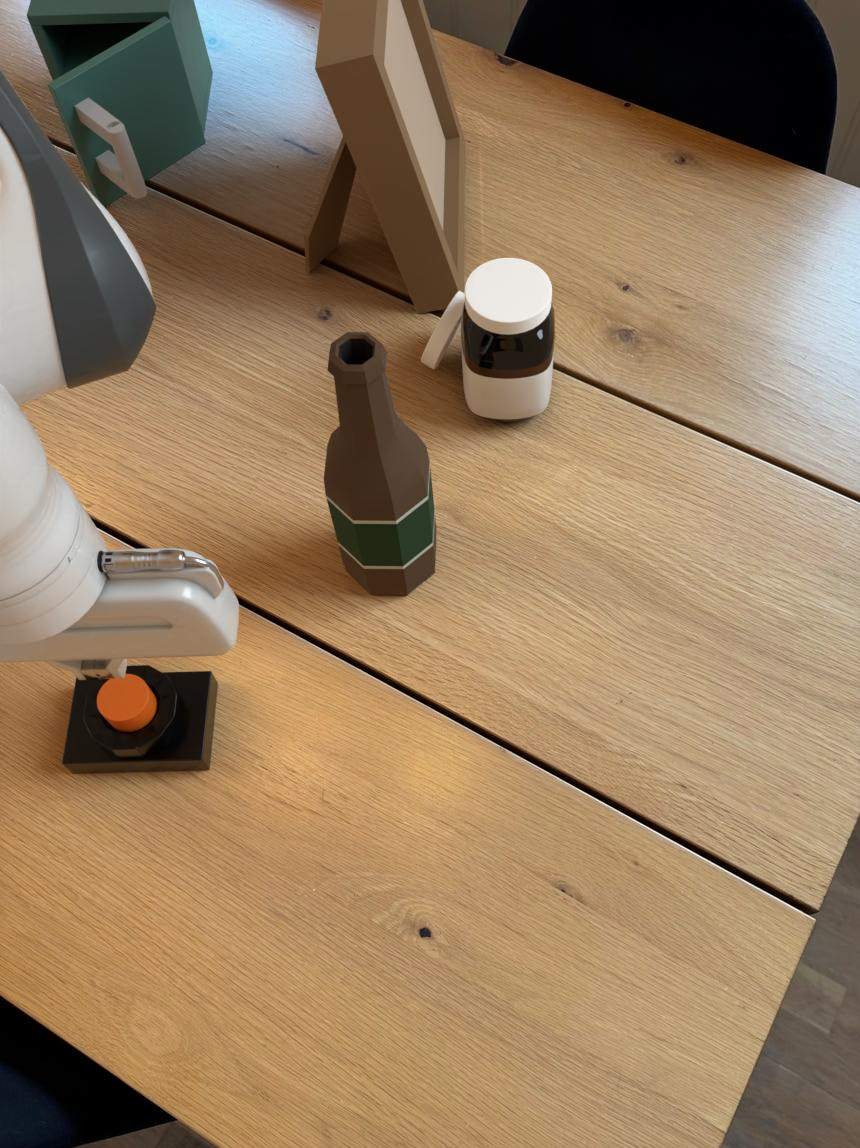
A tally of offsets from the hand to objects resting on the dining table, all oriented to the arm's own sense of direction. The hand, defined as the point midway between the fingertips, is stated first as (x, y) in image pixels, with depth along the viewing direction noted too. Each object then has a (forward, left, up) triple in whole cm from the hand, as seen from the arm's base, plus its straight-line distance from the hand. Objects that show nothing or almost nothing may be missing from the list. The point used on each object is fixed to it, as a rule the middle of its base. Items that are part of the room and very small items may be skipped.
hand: (104, 669), depth 69 cm
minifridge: (-9, +70, -10) cm, 71 cm away
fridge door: (-5, +58, -10) cm, 59 cm away
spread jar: (+26, +32, -10) cm, 42 cm away
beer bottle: (+18, +14, -10) cm, 25 cm away
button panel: (0, 0, -10) cm, 10 cm away
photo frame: (+17, +51, -10) cm, 55 cm away
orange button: (0, 0, -6) cm, 6 cm away
